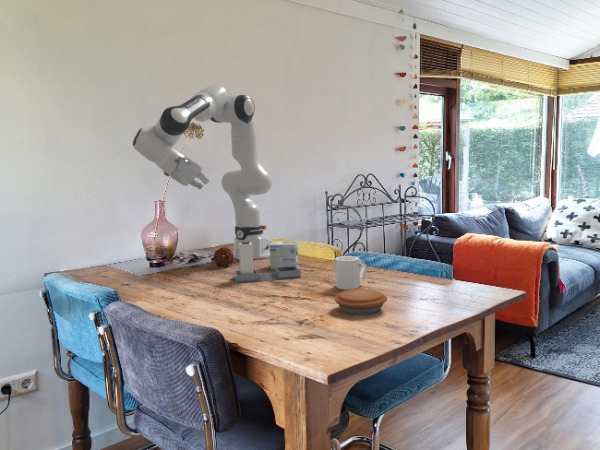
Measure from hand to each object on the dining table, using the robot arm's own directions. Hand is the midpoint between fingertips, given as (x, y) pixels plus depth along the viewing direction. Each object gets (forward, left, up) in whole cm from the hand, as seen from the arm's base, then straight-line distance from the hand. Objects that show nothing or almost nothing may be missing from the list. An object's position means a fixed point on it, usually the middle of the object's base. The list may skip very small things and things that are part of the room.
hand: (204, 185), depth 208 cm
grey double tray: (-8, +21, -35) cm, 42 cm away
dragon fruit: (-21, -12, -35) cm, 43 cm away
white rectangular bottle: (-2, +16, -34) cm, 38 cm away
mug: (-14, +53, -35) cm, 66 cm away
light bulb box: (-26, +16, -35) cm, 47 cm away
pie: (+10, +69, -36) cm, 79 cm away
